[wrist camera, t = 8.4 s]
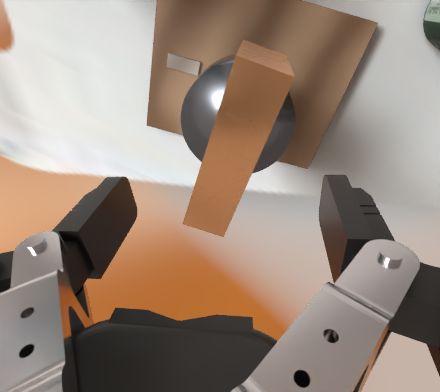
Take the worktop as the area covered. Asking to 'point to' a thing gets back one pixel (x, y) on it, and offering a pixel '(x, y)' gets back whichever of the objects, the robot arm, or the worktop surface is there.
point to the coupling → (235, 129)
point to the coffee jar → (432, 22)
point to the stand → (267, 37)
